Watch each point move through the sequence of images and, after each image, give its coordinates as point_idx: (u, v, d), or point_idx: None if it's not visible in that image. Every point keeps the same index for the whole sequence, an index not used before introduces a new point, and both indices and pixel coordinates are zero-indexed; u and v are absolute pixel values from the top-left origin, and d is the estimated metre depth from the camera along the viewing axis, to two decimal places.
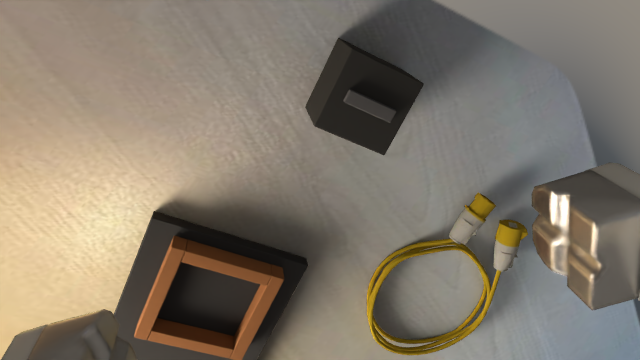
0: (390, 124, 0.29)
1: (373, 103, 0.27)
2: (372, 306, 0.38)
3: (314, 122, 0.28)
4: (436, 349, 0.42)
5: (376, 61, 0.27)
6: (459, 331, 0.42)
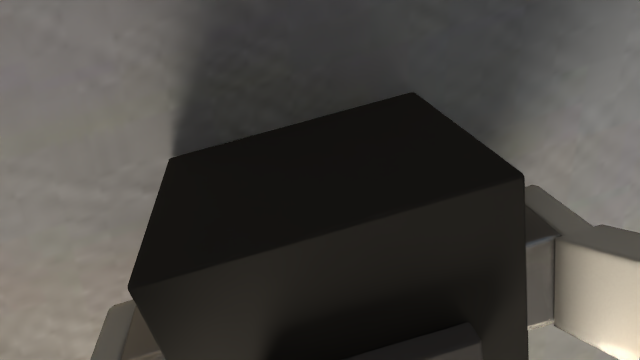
0: None
1: None
2: None
3: None
4: None
5: (262, 252, 0.06)
6: None
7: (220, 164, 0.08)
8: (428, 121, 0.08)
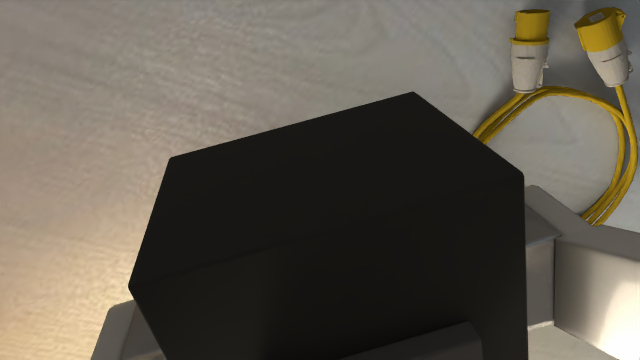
0: (488, 359, 0.07)
1: None
2: None
3: None
4: (598, 224, 0.30)
5: (262, 251, 0.06)
6: (616, 186, 0.30)
7: (220, 163, 0.08)
8: (428, 120, 0.08)
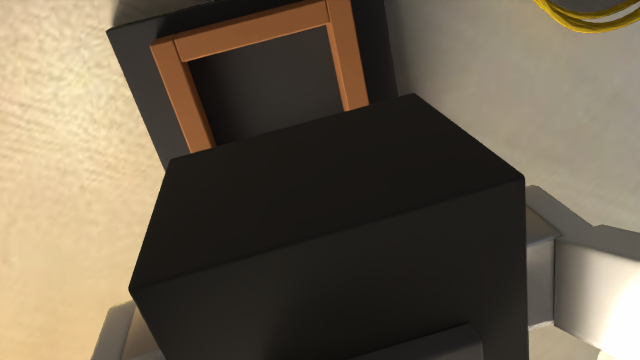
0: None
1: None
2: None
3: None
4: None
5: (263, 253, 0.06)
6: None
7: (220, 165, 0.08)
8: (428, 122, 0.08)
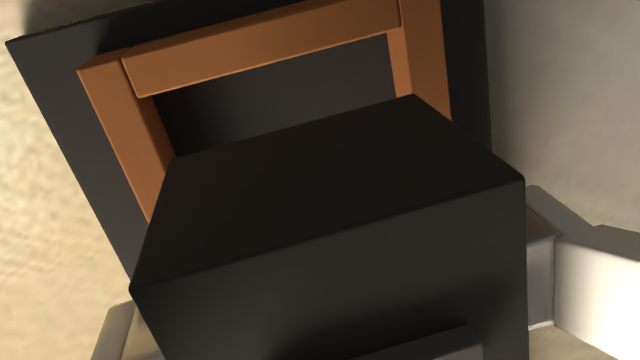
0: None
1: None
2: None
3: None
4: None
5: (263, 254, 0.06)
6: None
7: (221, 165, 0.08)
8: (429, 122, 0.08)
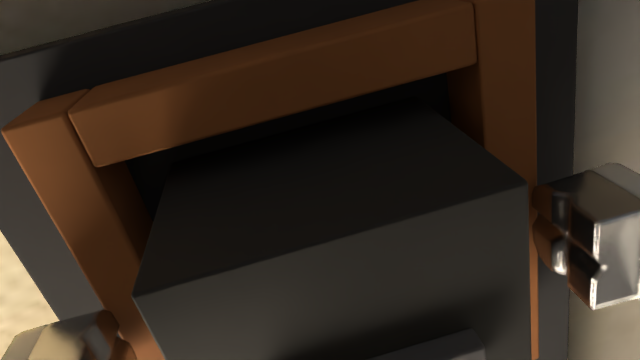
0: None
1: None
2: None
3: None
4: None
5: (266, 259, 0.06)
6: None
7: (222, 169, 0.08)
8: (431, 126, 0.08)
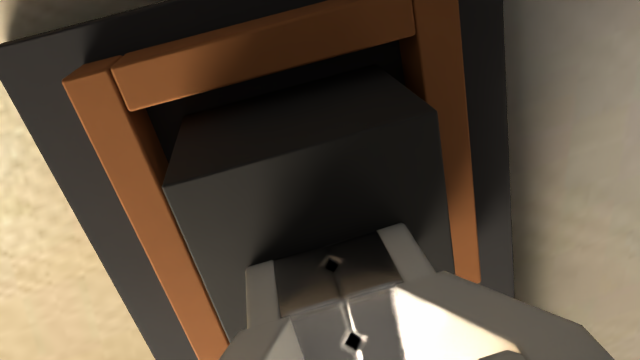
0: None
1: None
2: None
3: None
4: None
5: (254, 163, 0.08)
6: None
7: (224, 117, 0.11)
8: (381, 82, 0.10)
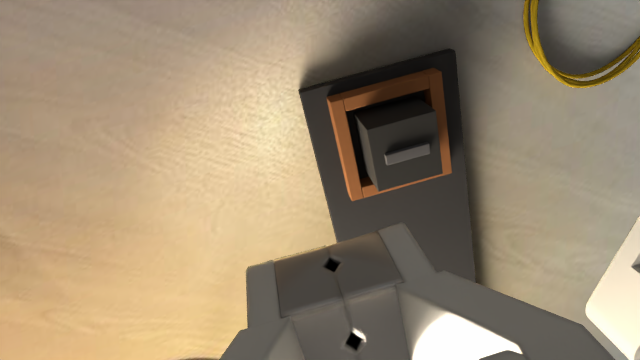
0: (431, 152, 0.33)
1: (408, 151, 0.32)
2: (542, 52, 0.36)
3: (377, 188, 0.34)
4: (637, 56, 0.37)
5: (389, 124, 0.32)
6: None
7: (370, 112, 0.34)
8: (419, 102, 0.34)
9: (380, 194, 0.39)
